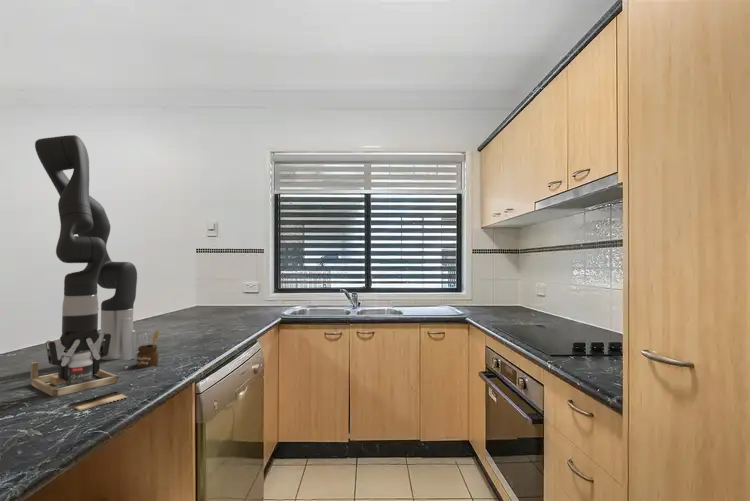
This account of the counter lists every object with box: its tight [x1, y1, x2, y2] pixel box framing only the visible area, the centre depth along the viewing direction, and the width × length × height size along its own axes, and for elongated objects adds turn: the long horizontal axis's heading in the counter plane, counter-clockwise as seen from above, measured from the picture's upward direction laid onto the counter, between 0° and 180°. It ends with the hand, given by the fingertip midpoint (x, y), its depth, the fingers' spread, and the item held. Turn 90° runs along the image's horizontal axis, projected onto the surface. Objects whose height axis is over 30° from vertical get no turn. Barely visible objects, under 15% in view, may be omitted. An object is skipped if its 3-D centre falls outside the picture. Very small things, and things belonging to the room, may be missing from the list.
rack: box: [29, 356, 119, 398], centre depth 104 cm, size 14×16×7 cm
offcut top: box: [49, 375, 65, 386], centre depth 106 cm, size 7×3×2 cm, turn 153°
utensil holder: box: [136, 330, 160, 368], centre depth 123 cm, size 6×6×12 cm
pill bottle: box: [64, 351, 94, 387], centre depth 103 cm, size 6×6×10 cm
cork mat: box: [68, 391, 129, 412], centre depth 96 cm, size 10×10×1 cm
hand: (79, 376), depth 103 cm, fingers open, 6 cm apart
